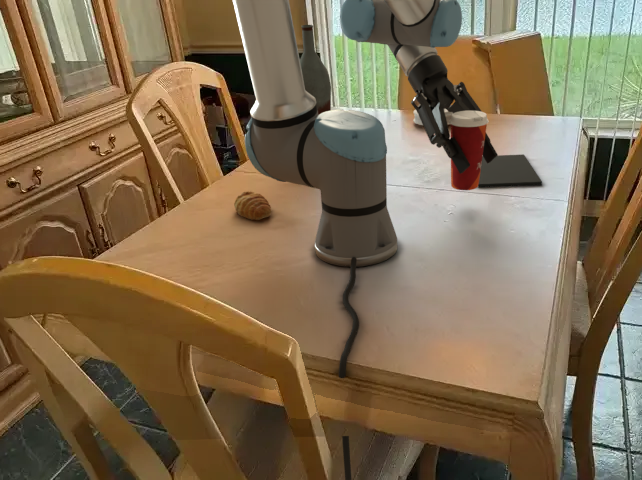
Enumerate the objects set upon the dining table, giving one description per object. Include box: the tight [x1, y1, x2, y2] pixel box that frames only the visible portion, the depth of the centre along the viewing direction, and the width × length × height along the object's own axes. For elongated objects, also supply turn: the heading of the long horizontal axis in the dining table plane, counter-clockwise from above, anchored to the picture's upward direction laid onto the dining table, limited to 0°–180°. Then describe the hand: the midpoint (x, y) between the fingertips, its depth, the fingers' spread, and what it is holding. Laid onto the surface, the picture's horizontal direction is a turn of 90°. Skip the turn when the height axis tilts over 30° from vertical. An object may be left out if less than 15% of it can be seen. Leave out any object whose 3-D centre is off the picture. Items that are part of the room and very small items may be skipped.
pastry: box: [233, 190, 273, 221], centre depth 130 cm, size 9×7×4 cm
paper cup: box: [449, 110, 490, 191], centre depth 124 cm, size 8×8×14 cm
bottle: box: [299, 24, 332, 115], centre depth 153 cm, size 9×9×30 cm
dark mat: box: [477, 153, 543, 189], centre depth 145 cm, size 20×14×1 cm
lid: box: [413, 108, 453, 126], centre depth 180 cm, size 13×13×5 cm
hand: (479, 164), depth 123 cm, fingers closed on paper cup, 8 cm apart
